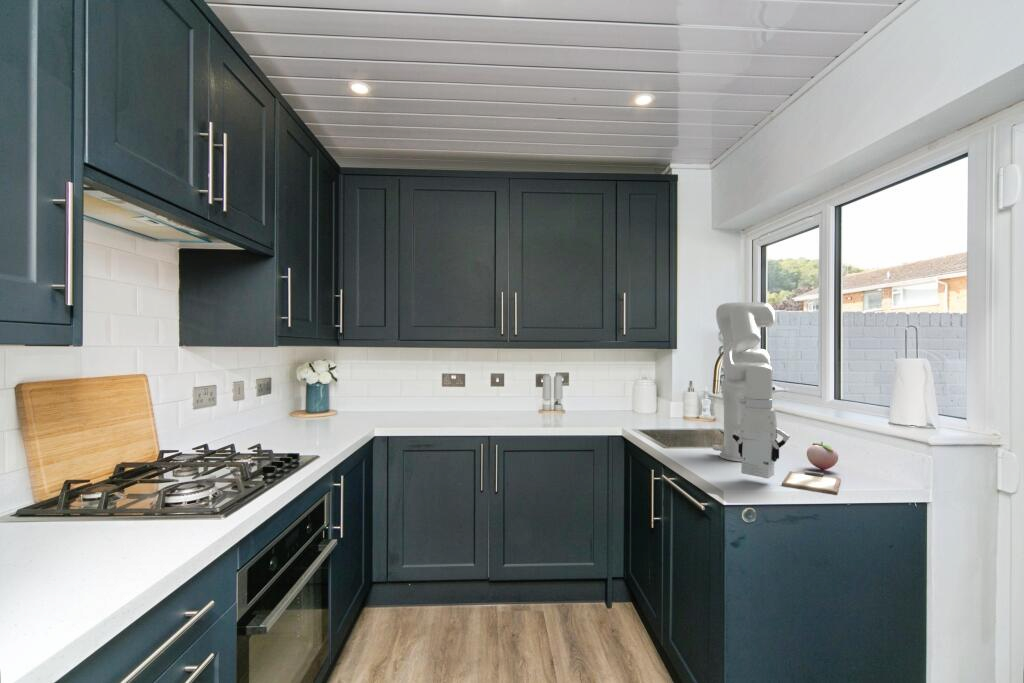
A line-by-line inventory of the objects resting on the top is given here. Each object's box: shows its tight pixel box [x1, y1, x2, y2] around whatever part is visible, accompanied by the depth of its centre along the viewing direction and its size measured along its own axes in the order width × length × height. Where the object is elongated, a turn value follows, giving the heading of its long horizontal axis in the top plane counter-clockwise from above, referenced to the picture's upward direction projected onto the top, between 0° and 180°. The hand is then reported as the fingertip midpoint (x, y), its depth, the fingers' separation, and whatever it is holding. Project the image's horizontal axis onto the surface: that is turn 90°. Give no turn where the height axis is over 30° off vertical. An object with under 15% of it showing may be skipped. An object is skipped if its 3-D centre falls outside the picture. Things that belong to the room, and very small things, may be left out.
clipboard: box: [781, 470, 841, 495], centre depth 146 cm, size 14×17×2 cm
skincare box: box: [741, 431, 775, 479], centre depth 147 cm, size 8×6×15 cm
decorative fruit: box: [806, 441, 839, 471], centre depth 161 cm, size 9×8×10 cm
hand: (758, 458), depth 147 cm, fingers closed on skincare box, 8 cm apart
